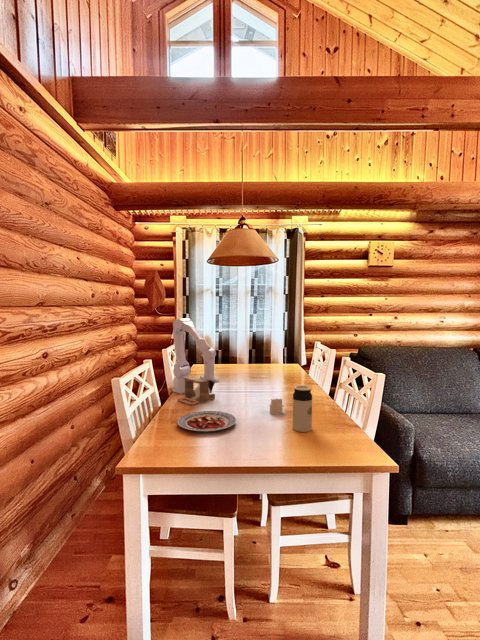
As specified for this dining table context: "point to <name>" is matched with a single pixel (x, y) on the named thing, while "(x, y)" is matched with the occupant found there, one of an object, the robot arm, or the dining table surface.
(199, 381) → the tunnel lane
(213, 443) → the dining table surface
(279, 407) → the architectural model
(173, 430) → the dining table surface
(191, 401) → the trap pit
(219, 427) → the ceramic plate
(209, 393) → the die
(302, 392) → the travel mug
